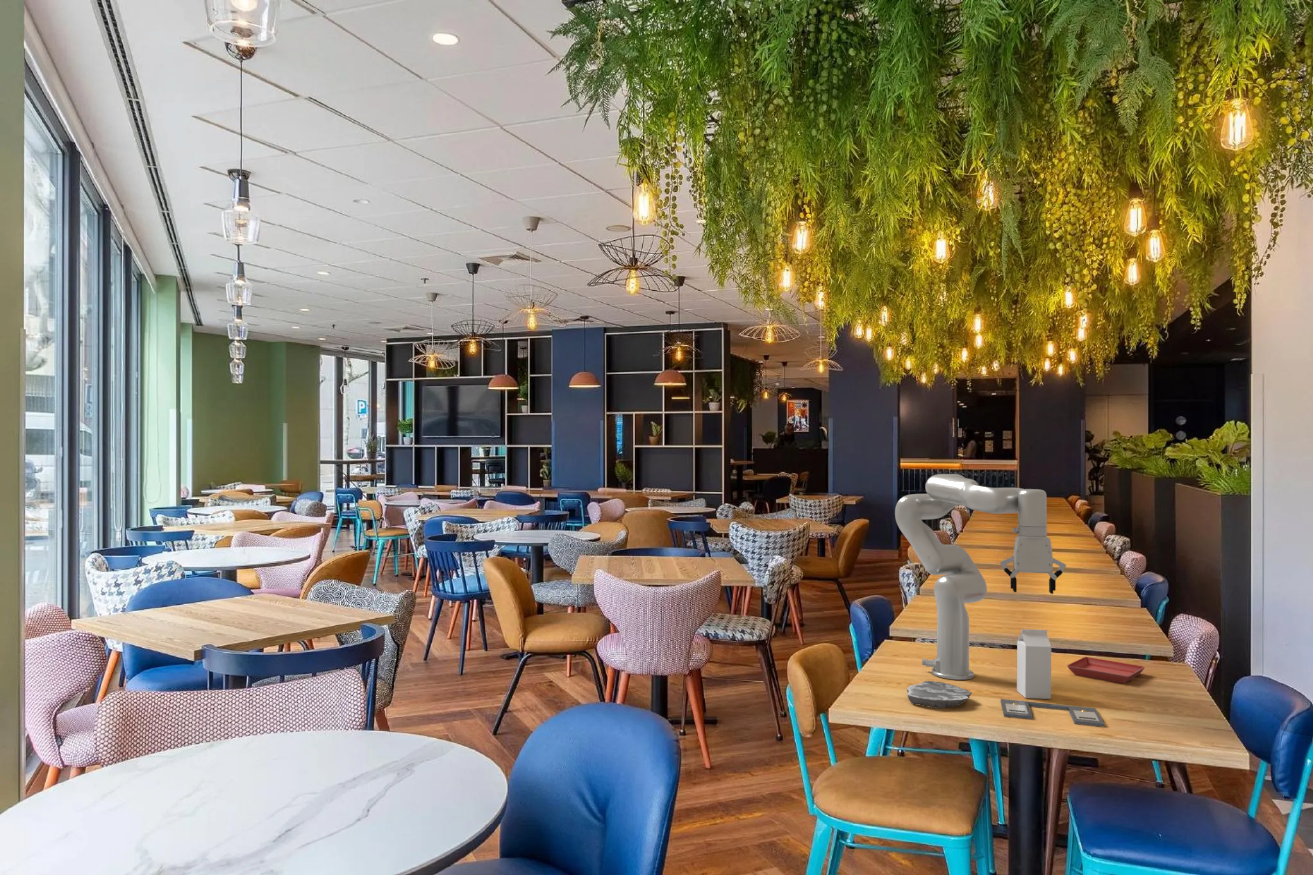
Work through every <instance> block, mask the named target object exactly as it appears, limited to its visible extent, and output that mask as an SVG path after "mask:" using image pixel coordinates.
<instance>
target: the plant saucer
mask: <svg viewBox="0 0 1313 875" xmlns="http://www.w3.org/2000/svg"><path fill="white" fill-rule="evenodd" d="M1066 667H1067V668H1068V669H1069V670H1070V671H1071V673H1073V675H1074V676H1078V677H1079V676H1080V677H1085V678H1091V679H1094V680H1095V679H1096V680H1101V681H1107V682H1111V681H1112V683H1117V684H1122V683H1124V684H1126V683H1128V682H1130V680H1132V678H1133V679H1135V678H1136V677H1138V676H1139V675H1140V674H1141V673H1142V672H1143V670H1145V668H1146V667H1145V666H1142V665H1137V664H1131V663H1126V662H1120V661H1113V660H1107V659H1102V658H1095V657H1090V656H1089V657H1088V656H1084V657H1081V658H1079V659H1077V660H1075V661H1073V662H1071V663H1069V664H1067V665H1066Z"/></svg>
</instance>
